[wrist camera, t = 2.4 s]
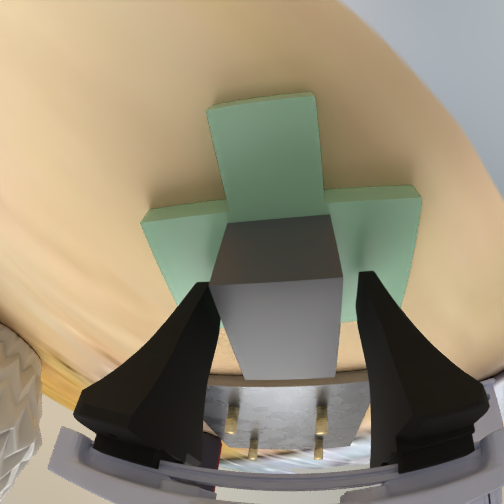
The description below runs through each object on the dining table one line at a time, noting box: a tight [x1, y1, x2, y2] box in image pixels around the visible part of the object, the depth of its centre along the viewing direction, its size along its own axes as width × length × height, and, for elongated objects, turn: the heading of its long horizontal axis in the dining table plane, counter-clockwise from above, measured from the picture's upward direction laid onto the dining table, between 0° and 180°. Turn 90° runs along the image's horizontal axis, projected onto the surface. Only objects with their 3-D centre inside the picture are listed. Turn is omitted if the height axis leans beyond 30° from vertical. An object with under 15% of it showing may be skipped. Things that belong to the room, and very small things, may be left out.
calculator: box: [175, 432, 222, 492], centre depth 30 cm, size 11×4×15 cm, turn 137°
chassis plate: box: [203, 370, 370, 460], centre depth 25 cm, size 16×20×4 cm
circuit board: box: [140, 92, 422, 380], centre depth 12 cm, size 12×15×5 cm
